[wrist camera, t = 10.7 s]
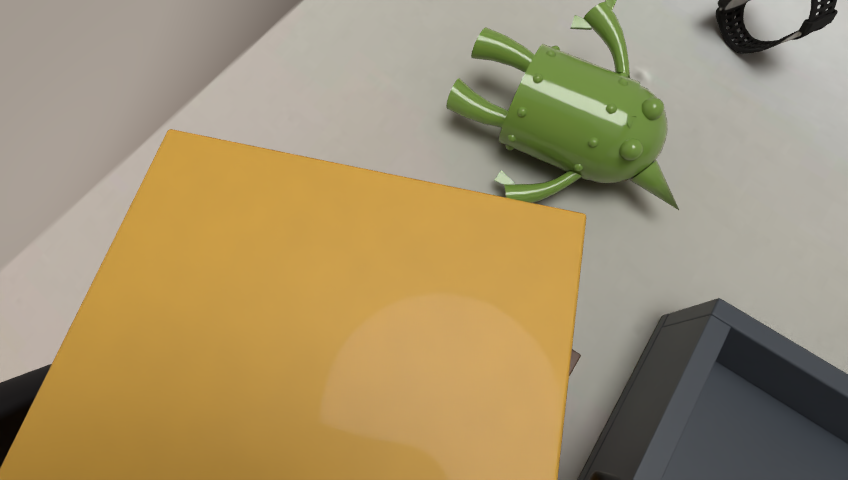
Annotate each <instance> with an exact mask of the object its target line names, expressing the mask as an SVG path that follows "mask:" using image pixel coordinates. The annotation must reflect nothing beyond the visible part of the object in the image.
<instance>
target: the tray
mask: <svg viewBox="0 0 848 480" xmlns="http://www.w3.org/2000/svg"><path fill="white" fill-rule="evenodd" d="M594 471H602V472H606V473H610V474H614V475H616V476H618V477H619V478H620V479H621V480H848V374H846V373H845V372H843V371H841V370H840V369H838V368H836V367H834V366H833V365H831V364H829V363H828V362H826V361H824V360H823V359H821V358H819V357H818V356H816V355H814V354H813V353H811V352H809V351H808V350H806V349H804V348H803V347H801V346H799V345H798V344H796V343H794V342H793V341H791V340H789V339H788V338H786V337H784V336H782V335H781V334H779V333H777V332H776V331H774V330H772V329H771V328H769V327H767V326H766V325H764V324H762V323H761V322H759V321H757V320H756V319H754V318H752V317H751V316H749V315H747V314H746V313H744V312H742V311H741V310H739V309H737V308H735V307H734V306H732V305H730V304H729V303H727V302H725V301H724V300H722V299H720V298H718V299H715V300H711V301H708V302H705V303H702V304H699V305H695V306H692V307H689V308H686V309H682V310H679V311H676V312H673V313H670V314H666V315H663V316H662V317H661V319H660V321H659V323H658V325H657V327H656V329H655V331H654V333H653V335H652V337H651V339H650V341H649V343H648V345H647V347H646V348H645V350H644V352H643V354H642V356H641V358H640V360H639V362H638V364H637V366H636V368H635V370H634V372H633V374H632V376H631V378H630V380H629V382H628V383H627V385H626V387H625V389H624V391H623V393H622V395H621V397H620V399H619V401H618V403H617V405H616V407H615V409H614V411H613V413H612V415H611V417H610V418H609V420H608V422H607V424H606V426H605V428H604V430H603V432H602V434H601V436H600V438H599V440H598V442H597V444H596V446H595V448H594V450H593V452H592V454H591V455H590V457H589V459H588V461H587V463H586V465H585V467H584V469H583V471H582V473H581V475H580V477H579V479H578V480H588V479H589V477H590V475H591V474H592V472H594Z"/></svg>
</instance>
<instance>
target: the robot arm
mask: <svg viewBox="0 0 848 480" xmlns="http://www.w3.org/2000/svg"><path fill="white" fill-rule="evenodd" d="M51 365H52V364H50V365H47V366H44V367H42V368H39V369H36V370H34V371H31V372H28V373H25V374H23V375H20V376H17V377H15V378H12V379H9V380H6V381H4V382H1V383H0V468H1V466H2V464H3V462H4V460H5V458H6V456H7V453H8V451H9V449H10V447H11V445H12V443H13V441H14V439H15V437H16V435H17V433H18V431H19V429H20V427H21V425H22V423H23V421H24V419H25V417H26V415H27V413H28V411H29V409H30V407H31V405H32V403H33V401H34V399H35V397H36V395H37V393H38V391H39V389H40V387H41V385H42V383H43V381H44V379H45V377H46V375H47V373H48V371H49V369H50V367H51ZM588 480H621V479H620V478H619V477H618V476H616V475H614V474H610V473H606V472H602V471H594V472H592V474H591V475H590V477H589V479H588Z"/></svg>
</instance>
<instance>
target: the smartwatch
mask: <svg viewBox="0 0 848 480" xmlns="http://www.w3.org/2000/svg"><path fill="white" fill-rule="evenodd" d="M748 1H750V0H719V1H718V6H719V7H718V9H717V10H716V19H717V22H718V25H719V28H720V31H721V33H722V35H723V37H724V39H725V41H726V42H727V44H728V45H729V46H730V47H731V48H732V49H733V50H734V51H737V52H740V53H754V52H760V51H763V50H766V49H768V48H771V47H773V46H776V45H778V44H780V43H783V42H786V41H789V40H796V39H799V38H802V37H804V36H806V35H808V34H809V33H811V32H813V31H817V30H820V29H822V28H824V27H825V26H826V25H827V24H829V23H831V22H832V20H833V19H834V17H835V16H836V14H837V10H835V9H834V8H835V5H836V2H837V0H821V1H820V2H818V0H811V11H810V15H809V19H806V20H805V21H804V22H803V24H802V26H801V28H800V29H799V30H798V31H796V32H794V33H792V34H790V35H788V36H785V37H783V38H781V39H780V40H776V41H760V40H757V39H755V38H753V37H752V36H751V35H750V34H749V33H748V31H747V30H746V28H745V25H744V21H743V13H744V7H745V5H746V3H747V2H748ZM828 1H830V3H828V4H827V2H828ZM818 5H821V6H820V8H819V9H817V6H818ZM826 9H828V10H826ZM825 10H826V11H825ZM817 12H819V14H818V15H816V13H817ZM815 15H816V16H815ZM735 16H736V18H735V19H734V17H735ZM726 19H727V20H728V22H727V23H726ZM737 22H738V25H737V26H735V24H736V23H737ZM728 26H729V27H730V29H726V27H728ZM738 28H740V29H741V30H740V32H737V29H738ZM728 33H733V35H728ZM741 34H743V35H744V36H743V37H740V35H741ZM733 38H735V39H736V40H733V41H732V40H731V39H733ZM744 39H748V40H747V41H744ZM750 42H751V44H748V43H750ZM735 43H739V44H737V45H736V44H735ZM742 46H743V47H742Z"/></svg>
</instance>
